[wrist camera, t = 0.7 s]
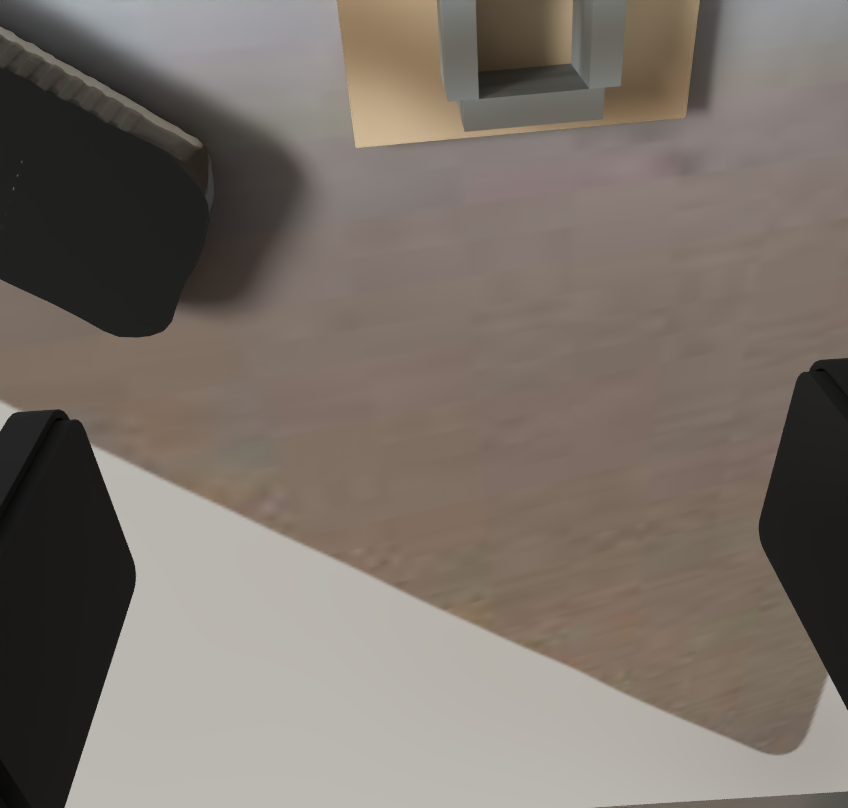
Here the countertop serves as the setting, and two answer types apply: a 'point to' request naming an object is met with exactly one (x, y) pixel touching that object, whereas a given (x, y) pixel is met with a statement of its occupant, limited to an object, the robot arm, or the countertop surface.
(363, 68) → the holder
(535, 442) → the countertop surface
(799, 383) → the robot arm
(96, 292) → the black sponge
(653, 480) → the countertop surface
